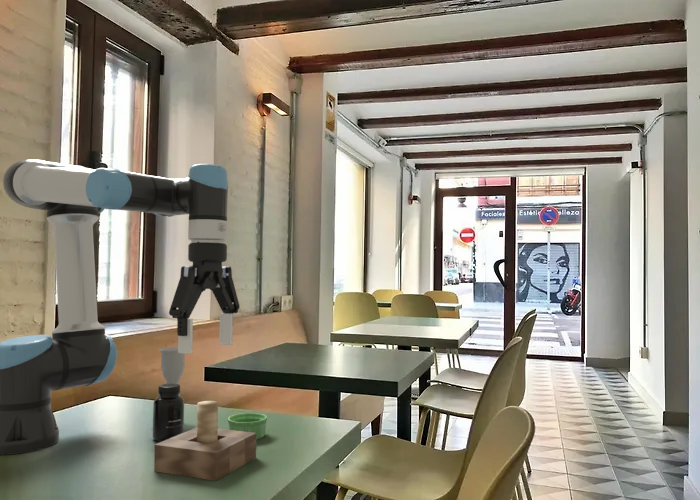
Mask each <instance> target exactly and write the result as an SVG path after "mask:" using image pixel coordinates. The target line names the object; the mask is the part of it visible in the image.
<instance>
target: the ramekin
mask: <svg viewBox="0 0 700 500" xmlns="http://www.w3.org/2000/svg"><path fill="white" fill-rule="evenodd" d="M267 420H268V416H267V415H266V414H263V413H258V412H257V413H256V412H244V413H241V412H240V413H236V414H233V415H230V416H228V418H227V422H228V430H235V431H243V432H252V433H256V441H257V440H260V439H262V438H263V437H264V436H265V435H266V424H267Z"/></svg>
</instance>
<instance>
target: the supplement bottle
mask: <svg viewBox="0 0 700 500" xmlns="http://www.w3.org/2000/svg"><path fill="white" fill-rule="evenodd" d="M157 387H158V388H157V389H158V391H157V395H158V396H157V397H156V398H155V399H154V400H153V405H152V439H153V440H154V441H156V442H162V441H165V440H167V439H170V438H172V437H174V436H177V435H179V434H182V433H184V432H185V428H184V426H185V399H184V398H183V396H182V395H180V394H181V384H180V383H178V384H167V383H163V384H159V385H158V386H157Z"/></svg>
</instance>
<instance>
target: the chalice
mask: <svg viewBox="0 0 700 500" xmlns="http://www.w3.org/2000/svg"><path fill="white" fill-rule="evenodd" d="M159 353H160V358H161V359H160V369H161V373H162V375H163V378H164V381H165V382H166V384H180V383H179V382H180V380H181V378H182V376H183V373H184V370H185V359H186V358H185V355H186V354H185V353H178V346H177V347H176V346H175V347H163V348H159Z"/></svg>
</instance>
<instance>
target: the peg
mask: <svg viewBox="0 0 700 500" xmlns="http://www.w3.org/2000/svg"><path fill="white" fill-rule="evenodd" d="M196 404H197V405H196V410H197V411H196V412H197V413H196V427H197V442H200V443H208V444H211V443H214V442H216V441H218V429H219V427H218V426H219V423H218V422H219V419H218V418H219V403H218V401H215V400H204V401H199V402H197V403H196Z"/></svg>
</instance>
